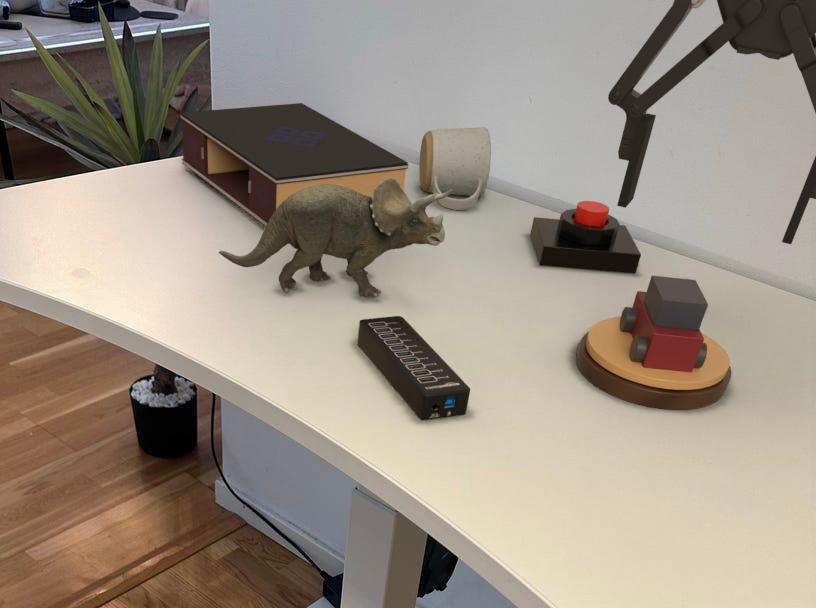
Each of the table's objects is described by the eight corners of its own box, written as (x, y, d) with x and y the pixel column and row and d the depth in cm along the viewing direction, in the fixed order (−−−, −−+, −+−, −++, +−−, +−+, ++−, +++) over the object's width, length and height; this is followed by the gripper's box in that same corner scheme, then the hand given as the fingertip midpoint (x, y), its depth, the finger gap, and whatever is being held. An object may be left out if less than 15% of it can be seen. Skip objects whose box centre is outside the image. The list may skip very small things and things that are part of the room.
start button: (602, 218, 105) (606, 202, 103) (607, 229, 102) (612, 213, 101) (571, 215, 104) (575, 199, 103) (576, 226, 102) (580, 210, 101)
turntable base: (703, 343, 91) (709, 329, 90) (744, 415, 81) (751, 400, 80) (565, 331, 90) (569, 317, 89) (589, 402, 80) (593, 387, 79)
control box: (620, 244, 109) (630, 209, 106) (635, 274, 103) (646, 238, 100) (529, 236, 109) (537, 200, 106) (539, 265, 102) (547, 229, 100)
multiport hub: (398, 337, 87) (401, 314, 85) (467, 414, 77) (472, 389, 76) (355, 342, 85) (358, 319, 84) (421, 421, 76) (425, 396, 74)
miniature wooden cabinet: (274, 241, 102) (276, 177, 97) (181, 170, 116) (179, 112, 112) (401, 222, 109) (408, 162, 104) (299, 157, 124) (301, 102, 119)
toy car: (742, 397, 80) (771, 327, 75) (595, 381, 80) (616, 311, 75) (709, 331, 89) (734, 266, 85) (577, 317, 89) (595, 251, 85)
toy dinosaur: (217, 295, 91) (215, 174, 83) (225, 261, 97) (224, 146, 89) (436, 311, 92) (454, 194, 84) (430, 277, 98) (447, 165, 90)
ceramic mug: (414, 180, 120) (422, 116, 115) (474, 183, 121) (485, 120, 115) (426, 211, 113) (435, 144, 107) (490, 214, 113) (503, 147, 108)
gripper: (1013, -88, 60) (864, 239, 75) (643, -129, 67) (573, 176, 82) (1018, -78, 55) (858, 269, 70) (618, -124, 62) (549, 200, 77)
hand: (704, 220), depth 76 cm, fingers open, 13 cm apart
